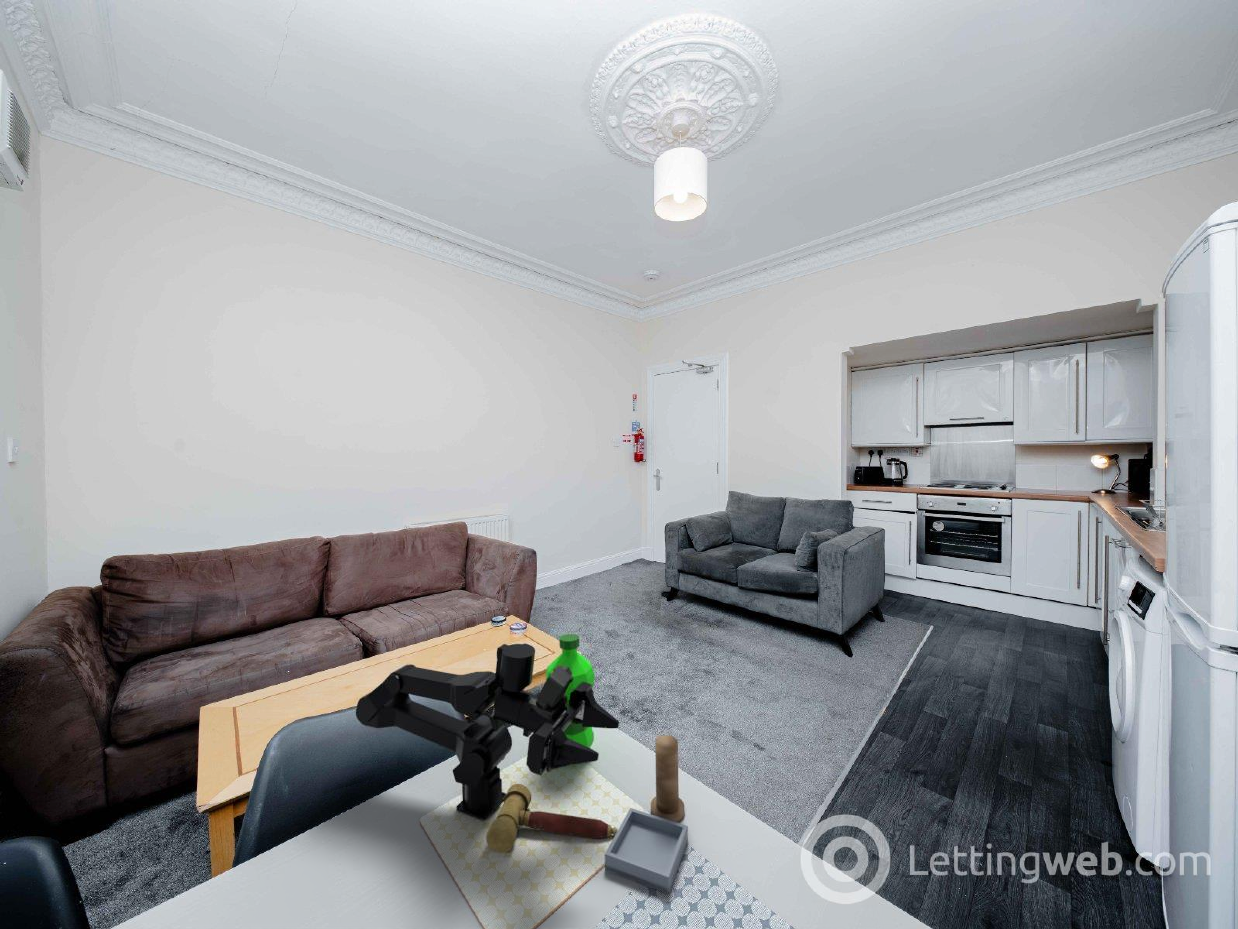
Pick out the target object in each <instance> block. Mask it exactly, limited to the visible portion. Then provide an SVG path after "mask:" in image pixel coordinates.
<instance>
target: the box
mask: <svg viewBox="0 0 1238 929" xmlns="http://www.w3.org/2000/svg"><path fill="white" fill-rule="evenodd" d="M617 829H618V831H617V833H616V835H613V836H614V837H613V838H612V840H611V842H610V843H609V846H608V847H607V849H606V851H605V853H604V870H605V871H607V872H610V873H612V874H614V875H617V876H620V877H622V878H625V879H628V880H630V881H633V882H636V883H638V884H641V885H643V886H646V887H648V888H650V889H653V890H656V891H659V892H660V893H661V892H662V893H664V894H667V895H670V892H671V889H672V887H673V883H674V881H675V878H676V876H677V872H678V871H679V867H680V864H681V861H682V858H683V856H684V853H685V851H686V847H687V845H688V841H689V833H688V832H689V830H688V829H689V826H688V825H687V824H682V823H680V822H678V823H677V822H674V821H670V820H667V819H664V818H661V817H658V816H655V815H651V813H648V812H645V811H641V810H638V809H636V808H635V809H634V808H633V807H630V808H629V810H628V812H627V813H626V815H625V816H624V818H623V821H622V822H621V824H620V826H619V828H617Z"/></svg>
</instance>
